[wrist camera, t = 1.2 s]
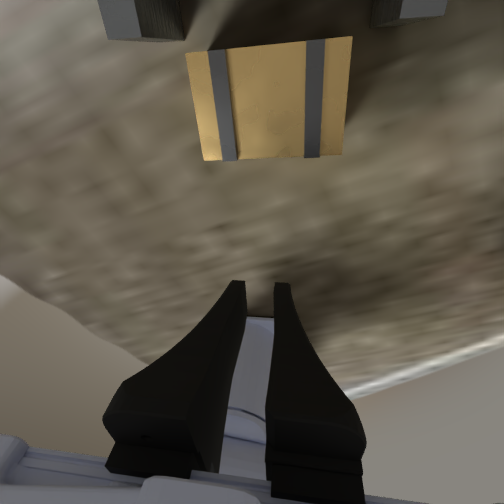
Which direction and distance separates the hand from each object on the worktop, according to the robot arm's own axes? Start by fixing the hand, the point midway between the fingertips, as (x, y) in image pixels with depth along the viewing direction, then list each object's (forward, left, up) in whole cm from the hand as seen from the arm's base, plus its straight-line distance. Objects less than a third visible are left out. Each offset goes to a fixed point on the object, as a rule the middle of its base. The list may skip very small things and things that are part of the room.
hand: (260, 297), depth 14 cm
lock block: (+8, 0, -10) cm, 12 cm away
